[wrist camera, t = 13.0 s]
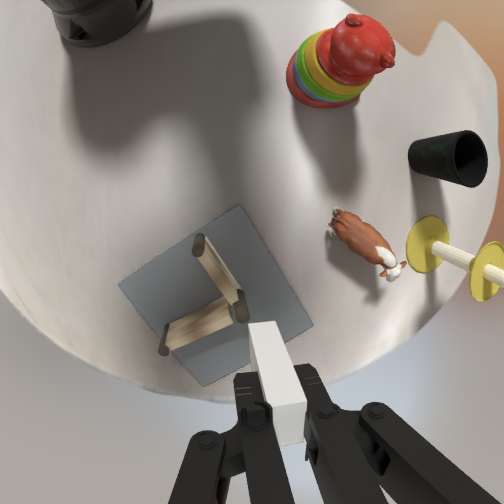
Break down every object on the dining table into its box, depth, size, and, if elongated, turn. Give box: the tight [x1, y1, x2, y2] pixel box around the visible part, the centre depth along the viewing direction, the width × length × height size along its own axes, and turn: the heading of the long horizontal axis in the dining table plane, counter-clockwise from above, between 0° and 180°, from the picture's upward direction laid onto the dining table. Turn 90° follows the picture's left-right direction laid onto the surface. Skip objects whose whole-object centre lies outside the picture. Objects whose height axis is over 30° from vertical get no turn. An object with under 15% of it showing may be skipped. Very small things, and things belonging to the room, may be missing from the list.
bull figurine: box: [328, 207, 407, 282], centre depth 42 cm, size 4×13×8 cm, turn 49°
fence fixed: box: [192, 233, 250, 324], centre depth 40 cm, size 11×2×7 cm, turn 31°
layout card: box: [118, 204, 314, 387], centre depth 46 cm, size 22×21×1 cm
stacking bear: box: [286, 14, 396, 108], centre depth 30 cm, size 11×10×18 cm
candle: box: [406, 216, 504, 302], centre depth 32 cm, size 10×10×32 cm
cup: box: [408, 130, 488, 188], centre depth 38 cm, size 8×8×12 cm
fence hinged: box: [158, 298, 234, 356], centre depth 42 cm, size 11×1×7 cm, turn 115°
